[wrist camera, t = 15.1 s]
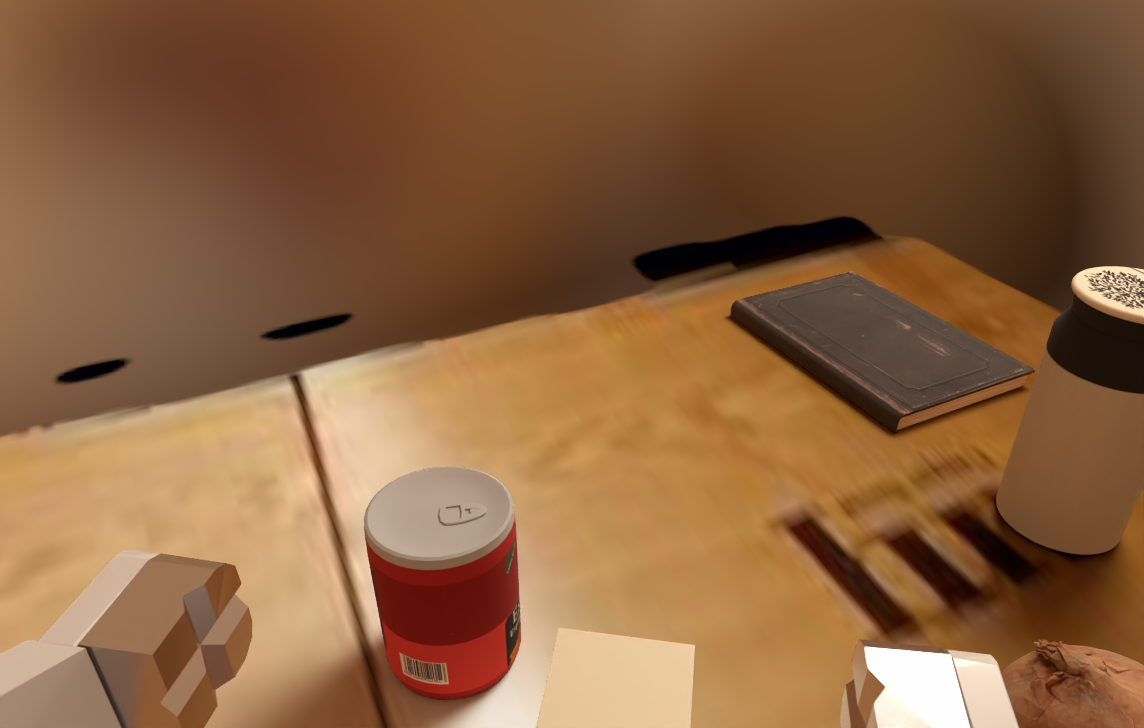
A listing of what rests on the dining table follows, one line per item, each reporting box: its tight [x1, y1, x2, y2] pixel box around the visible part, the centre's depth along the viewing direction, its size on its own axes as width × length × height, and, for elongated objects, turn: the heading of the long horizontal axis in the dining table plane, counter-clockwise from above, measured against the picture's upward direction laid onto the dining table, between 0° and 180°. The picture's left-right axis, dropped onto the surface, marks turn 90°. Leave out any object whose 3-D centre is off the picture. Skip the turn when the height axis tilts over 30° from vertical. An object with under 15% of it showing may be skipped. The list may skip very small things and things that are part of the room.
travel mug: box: [996, 267, 1144, 555], centre depth 55 cm, size 8×8×18 cm
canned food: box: [364, 466, 521, 700], centre depth 47 cm, size 8×8×11 cm
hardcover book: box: [731, 271, 1035, 433], centre depth 80 cm, size 16×23×2 cm
